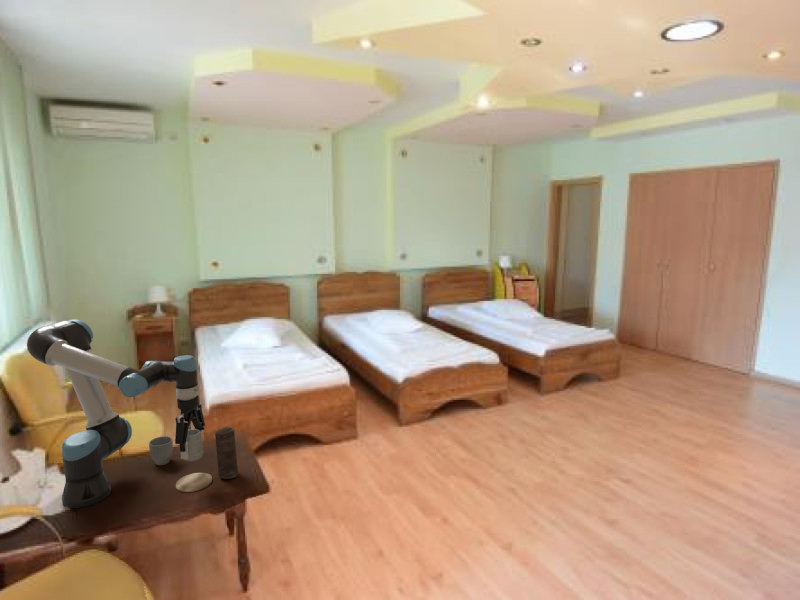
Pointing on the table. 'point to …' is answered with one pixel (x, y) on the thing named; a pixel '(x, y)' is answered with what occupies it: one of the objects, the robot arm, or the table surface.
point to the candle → (226, 453)
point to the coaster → (193, 482)
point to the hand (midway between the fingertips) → (192, 452)
